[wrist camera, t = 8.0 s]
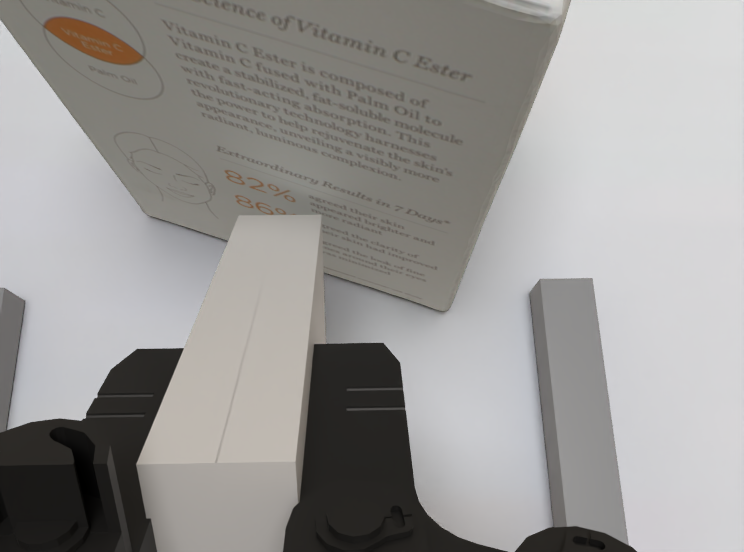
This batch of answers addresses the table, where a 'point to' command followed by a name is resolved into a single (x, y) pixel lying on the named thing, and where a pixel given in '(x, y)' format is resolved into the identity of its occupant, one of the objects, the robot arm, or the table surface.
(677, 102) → the table surface
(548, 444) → the grey square frame
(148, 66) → the small box
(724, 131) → the table surface
